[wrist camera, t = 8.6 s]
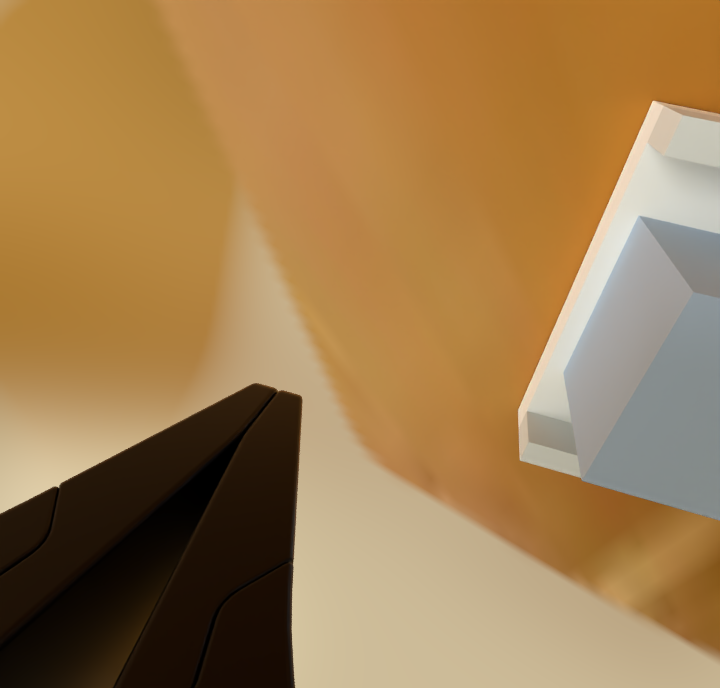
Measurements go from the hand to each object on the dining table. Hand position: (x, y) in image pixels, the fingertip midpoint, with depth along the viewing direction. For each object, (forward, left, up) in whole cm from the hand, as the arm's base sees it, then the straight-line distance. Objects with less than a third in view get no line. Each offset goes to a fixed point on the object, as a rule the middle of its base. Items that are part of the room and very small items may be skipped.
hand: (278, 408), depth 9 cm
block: (-9, 0, -8) cm, 12 cm away
